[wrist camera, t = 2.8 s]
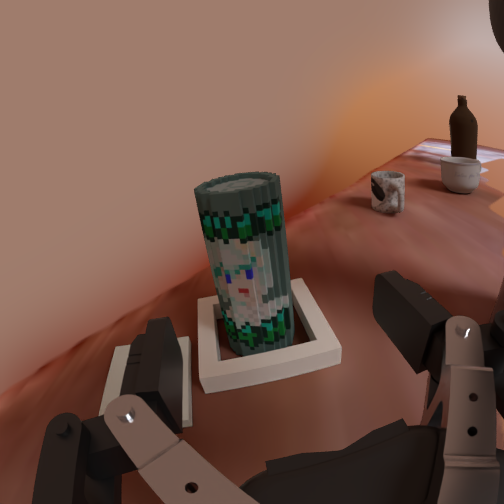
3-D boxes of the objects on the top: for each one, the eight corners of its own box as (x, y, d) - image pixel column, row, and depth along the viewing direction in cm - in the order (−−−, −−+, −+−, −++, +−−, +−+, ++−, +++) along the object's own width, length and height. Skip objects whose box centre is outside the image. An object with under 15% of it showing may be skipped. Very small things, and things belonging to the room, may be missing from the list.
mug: (367, 203, 58) (366, 171, 55) (396, 201, 57) (396, 170, 55) (384, 221, 49) (385, 184, 46) (417, 218, 49) (418, 182, 46)
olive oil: (480, 168, 79) (479, 98, 68) (472, 172, 75) (471, 95, 64) (455, 162, 88) (453, 95, 77) (445, 166, 83) (442, 93, 72)
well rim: (302, 292, 34) (301, 277, 33) (340, 363, 24) (341, 347, 23) (201, 313, 33) (197, 298, 32) (205, 393, 23) (199, 378, 22)
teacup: (454, 198, 55) (456, 163, 52) (431, 185, 65) (432, 154, 62) (494, 195, 54) (496, 163, 51) (470, 183, 64) (471, 155, 61)
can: (222, 356, 27) (181, 197, 20) (240, 316, 32) (213, 175, 25) (288, 361, 25) (268, 190, 19) (297, 318, 30) (283, 169, 24)
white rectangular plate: (191, 343, 29) (188, 336, 28) (192, 426, 20) (188, 419, 20) (119, 353, 28) (115, 346, 28) (102, 431, 19) (96, 424, 19)
